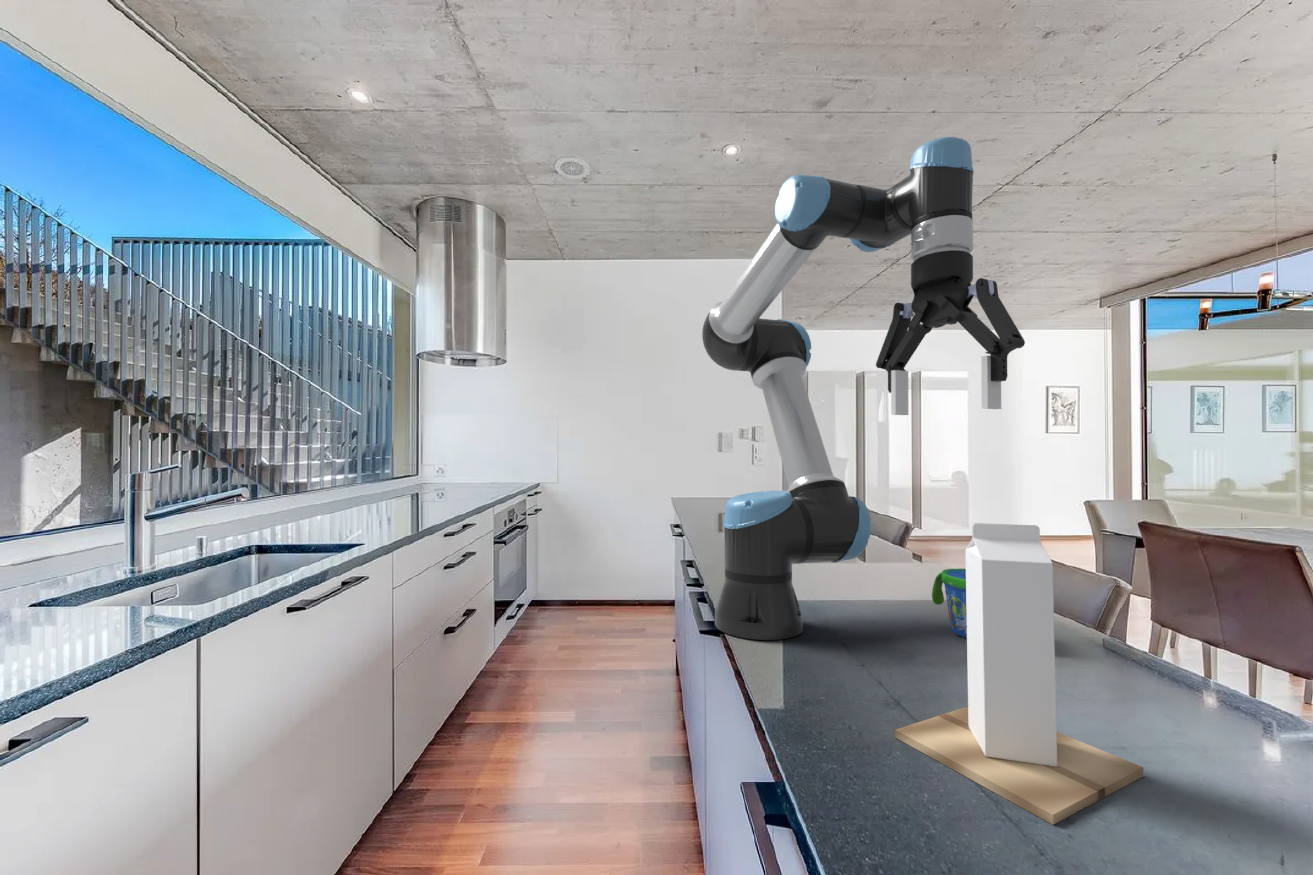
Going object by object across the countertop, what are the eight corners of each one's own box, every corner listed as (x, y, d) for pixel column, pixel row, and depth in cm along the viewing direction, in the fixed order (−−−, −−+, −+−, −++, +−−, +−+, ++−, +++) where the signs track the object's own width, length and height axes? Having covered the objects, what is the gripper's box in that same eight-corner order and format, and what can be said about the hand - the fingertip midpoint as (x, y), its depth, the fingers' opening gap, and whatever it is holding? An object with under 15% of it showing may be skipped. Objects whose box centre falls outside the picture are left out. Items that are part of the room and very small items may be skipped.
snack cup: (1047, 648, 83) (1046, 582, 84) (995, 656, 80) (994, 587, 80) (963, 619, 98) (962, 563, 98) (916, 624, 95) (915, 567, 95)
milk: (968, 727, 57) (963, 519, 58) (1034, 736, 55) (1027, 521, 56) (985, 758, 51) (979, 526, 52) (1060, 768, 49) (1052, 528, 50)
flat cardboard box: (895, 737, 56) (895, 729, 56) (983, 708, 63) (983, 700, 63) (1053, 824, 43) (1052, 814, 43) (1143, 776, 50) (1143, 766, 50)
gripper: (851, 279, 83) (851, 416, 82) (1019, 217, 61) (1020, 403, 60) (886, 286, 86) (886, 417, 86) (1057, 229, 64) (1059, 406, 63)
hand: (941, 412), depth 73 cm, fingers open, 13 cm apart
